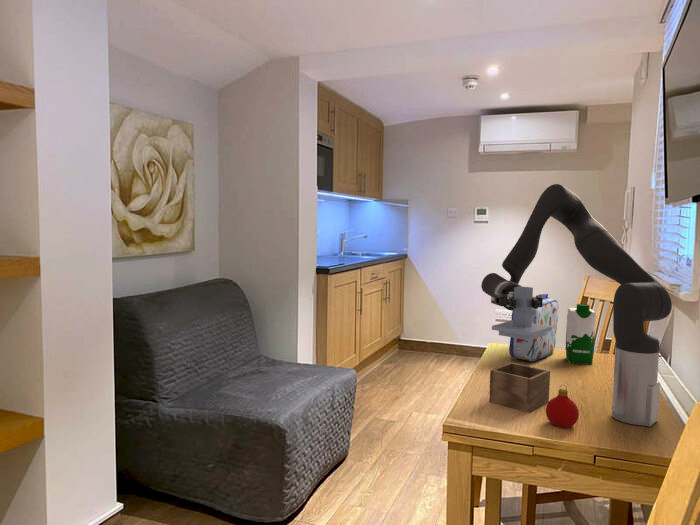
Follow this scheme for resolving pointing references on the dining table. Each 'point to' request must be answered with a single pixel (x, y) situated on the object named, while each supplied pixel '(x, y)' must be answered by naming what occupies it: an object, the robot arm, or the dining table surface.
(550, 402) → the christmas ornament
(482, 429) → the dining table surface
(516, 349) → the lunch box
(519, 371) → the block
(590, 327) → the milk carton
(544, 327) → the lid
